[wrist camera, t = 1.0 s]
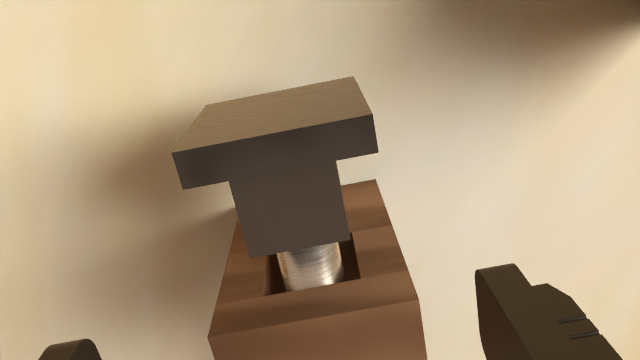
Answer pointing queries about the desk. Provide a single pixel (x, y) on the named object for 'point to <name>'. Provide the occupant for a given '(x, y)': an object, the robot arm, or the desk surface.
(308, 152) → the shaft
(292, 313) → the bearing blocks
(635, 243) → the desk surface
